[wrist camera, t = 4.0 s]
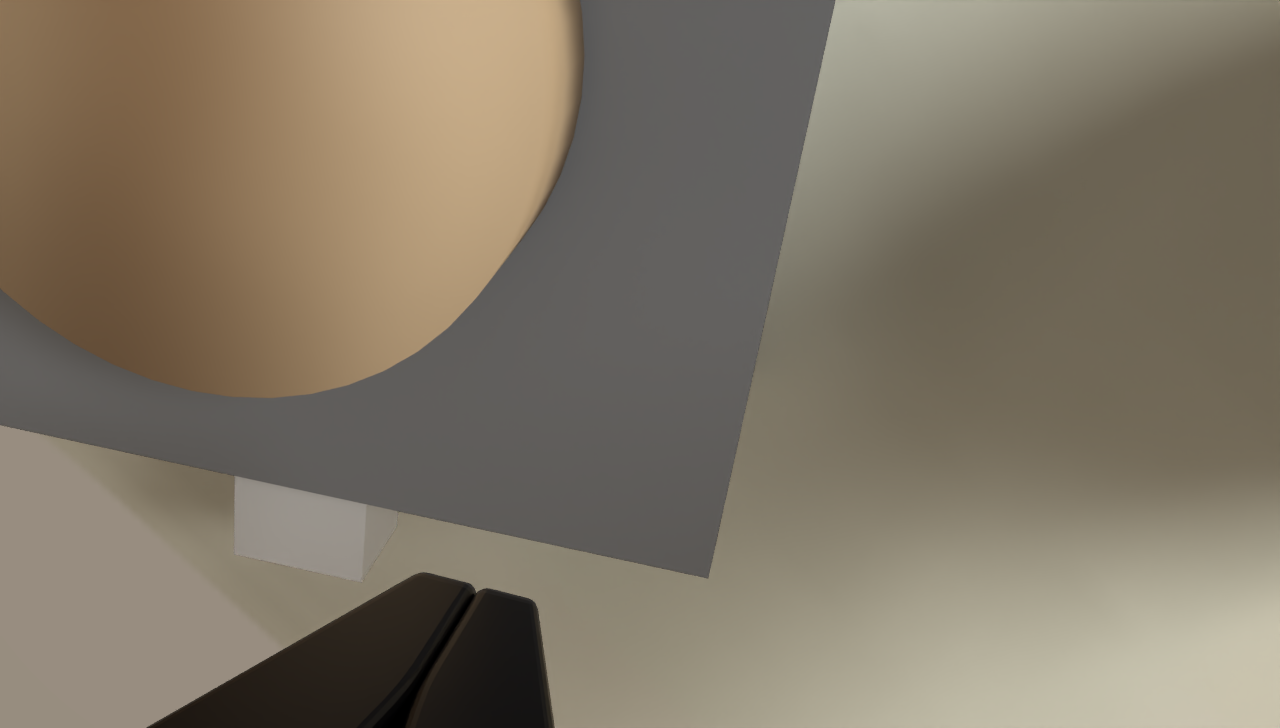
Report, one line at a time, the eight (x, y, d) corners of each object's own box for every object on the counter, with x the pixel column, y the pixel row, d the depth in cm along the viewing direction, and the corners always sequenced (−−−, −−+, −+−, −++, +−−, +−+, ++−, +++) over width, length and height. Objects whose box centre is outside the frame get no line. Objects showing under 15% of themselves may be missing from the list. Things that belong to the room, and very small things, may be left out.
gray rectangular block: (905, -390, 16) (950, -524, 10) (718, 478, 22) (682, 695, 16) (80, -521, 17) (-296, -711, 11) (114, 351, 23) (-121, 515, 17)
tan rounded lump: (676, -231, 15) (592, -280, 9) (600, 273, 18) (502, 456, 12) (160, -318, 15) (-201, -412, 10) (168, 187, 18) (-108, 327, 13)
